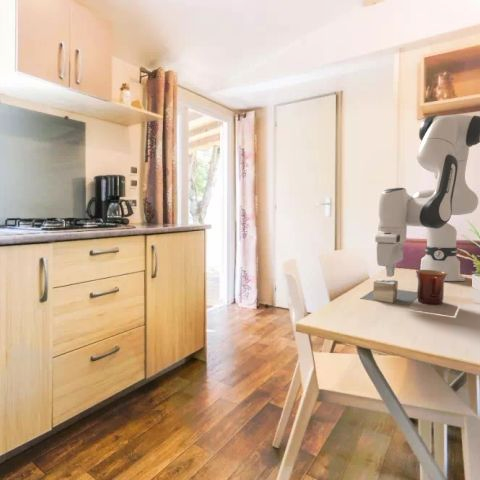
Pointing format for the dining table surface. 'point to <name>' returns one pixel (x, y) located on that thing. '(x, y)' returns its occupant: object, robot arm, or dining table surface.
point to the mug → (430, 286)
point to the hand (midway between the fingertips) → (390, 276)
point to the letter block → (385, 290)
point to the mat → (402, 297)
